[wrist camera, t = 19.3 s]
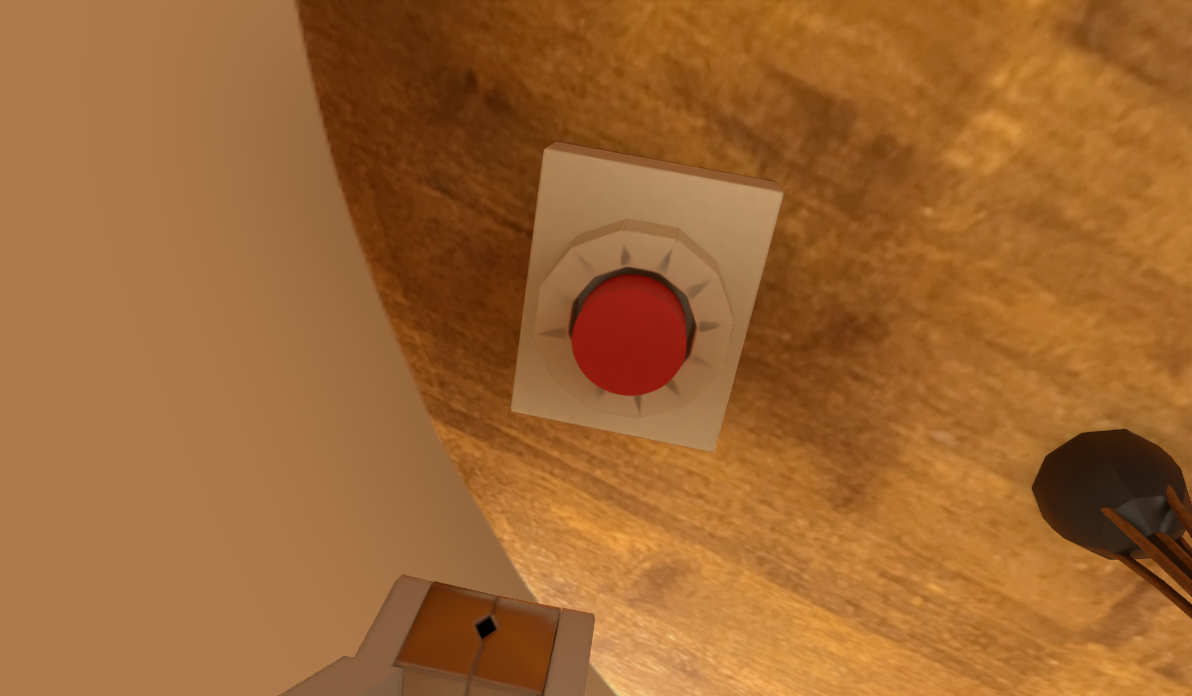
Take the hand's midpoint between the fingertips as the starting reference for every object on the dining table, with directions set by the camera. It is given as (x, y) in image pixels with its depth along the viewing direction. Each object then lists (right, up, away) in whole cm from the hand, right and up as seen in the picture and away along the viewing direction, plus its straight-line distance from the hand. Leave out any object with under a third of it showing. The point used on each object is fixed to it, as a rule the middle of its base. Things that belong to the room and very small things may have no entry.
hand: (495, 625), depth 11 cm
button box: (+3, +6, +16) cm, 18 cm away
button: (+3, +5, +13) cm, 14 cm away
